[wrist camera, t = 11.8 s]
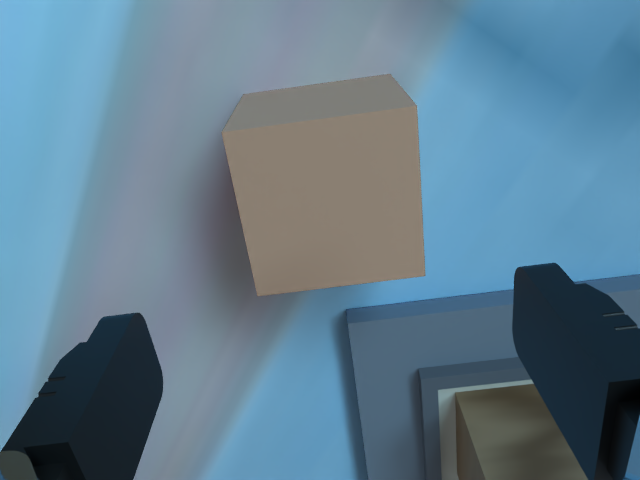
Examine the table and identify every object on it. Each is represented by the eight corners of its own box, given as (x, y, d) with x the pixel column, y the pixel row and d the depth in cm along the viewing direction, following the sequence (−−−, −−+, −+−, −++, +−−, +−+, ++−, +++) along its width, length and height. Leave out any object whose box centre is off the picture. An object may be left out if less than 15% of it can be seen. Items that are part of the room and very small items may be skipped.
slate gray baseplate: (674, 270, 25) (702, 292, 24) (631, 492, 32) (649, 522, 31) (346, 309, 26) (348, 333, 24) (373, 518, 33) (377, 549, 31)
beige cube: (390, 73, 21) (417, 105, 16) (399, 208, 24) (425, 276, 19) (243, 93, 21) (221, 132, 16) (269, 225, 24) (257, 296, 19)
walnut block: (573, 379, 27) (639, 480, 21) (564, 461, 29) (621, 570, 24) (455, 392, 27) (491, 495, 22) (456, 472, 30) (489, 582, 24)
